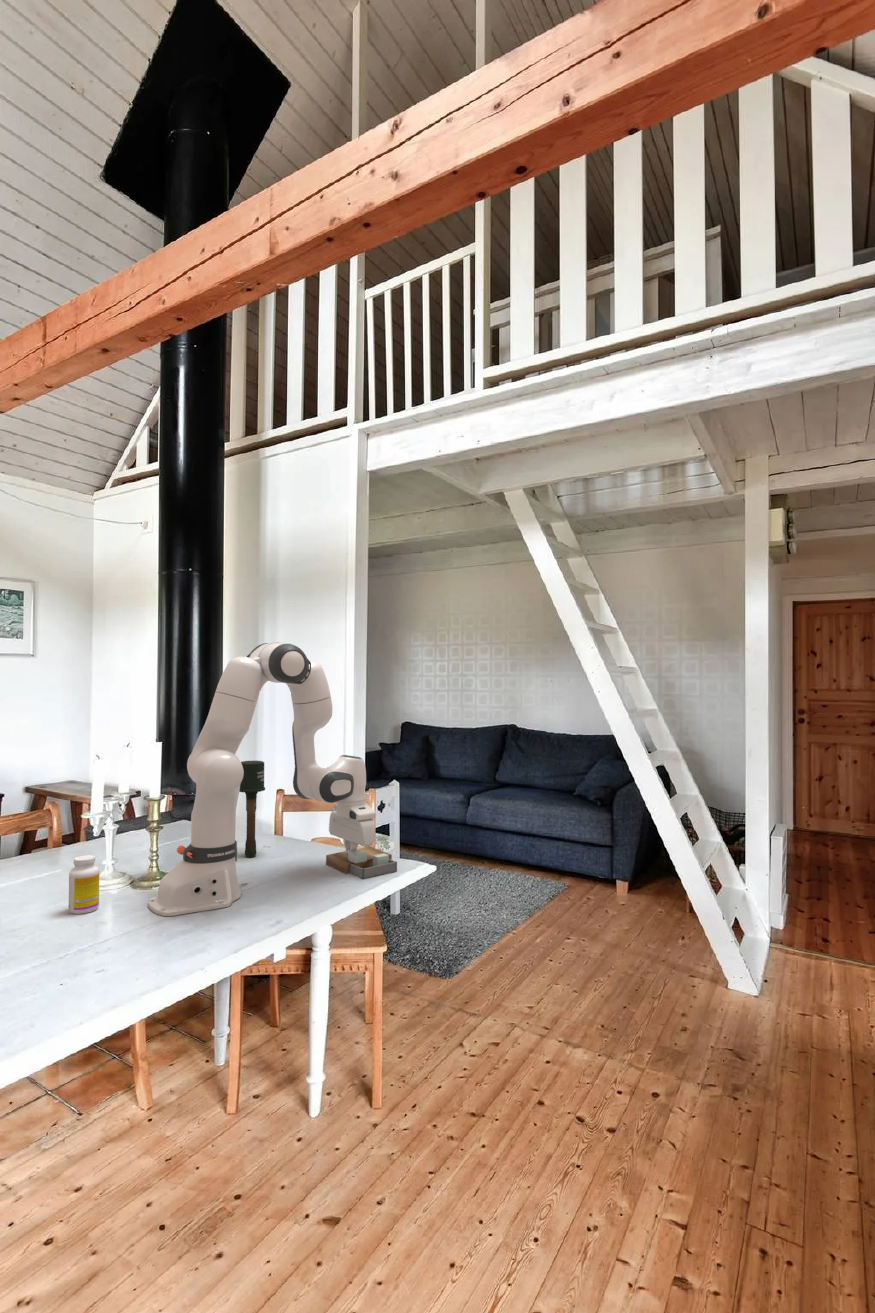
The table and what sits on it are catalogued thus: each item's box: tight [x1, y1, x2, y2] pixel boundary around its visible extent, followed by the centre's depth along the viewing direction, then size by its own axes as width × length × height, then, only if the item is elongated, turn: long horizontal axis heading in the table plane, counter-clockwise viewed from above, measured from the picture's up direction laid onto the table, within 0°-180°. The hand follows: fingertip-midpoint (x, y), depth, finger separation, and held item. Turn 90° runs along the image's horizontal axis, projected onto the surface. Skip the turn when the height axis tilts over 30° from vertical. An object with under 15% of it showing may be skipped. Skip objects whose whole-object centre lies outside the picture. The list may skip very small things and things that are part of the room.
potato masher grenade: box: [239, 760, 266, 859], centre depth 212 cm, size 8×9×30 cm
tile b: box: [373, 853, 389, 867], centre depth 199 cm, size 4×4×2 cm
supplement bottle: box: [68, 854, 100, 915], centre depth 164 cm, size 7×7×13 cm
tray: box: [349, 859, 398, 880], centre depth 196 cm, size 12×7×3 cm, turn 130°
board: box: [325, 846, 393, 875], centre depth 204 cm, size 16×12×3 cm
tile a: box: [348, 850, 367, 863], centre depth 198 cm, size 4×4×2 cm
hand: (350, 855), depth 200 cm, fingers closed
